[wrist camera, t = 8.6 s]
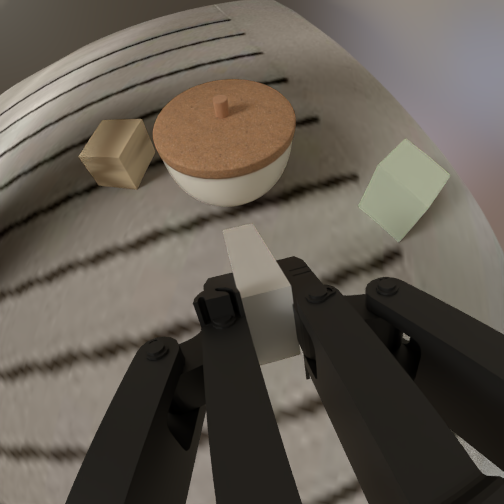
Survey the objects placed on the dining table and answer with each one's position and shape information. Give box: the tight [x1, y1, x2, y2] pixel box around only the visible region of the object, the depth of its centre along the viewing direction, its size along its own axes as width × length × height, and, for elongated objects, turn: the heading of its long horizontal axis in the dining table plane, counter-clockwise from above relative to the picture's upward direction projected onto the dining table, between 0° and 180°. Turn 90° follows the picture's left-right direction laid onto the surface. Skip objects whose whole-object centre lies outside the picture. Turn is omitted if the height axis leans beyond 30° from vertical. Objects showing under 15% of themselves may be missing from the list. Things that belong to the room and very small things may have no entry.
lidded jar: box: [153, 79, 296, 207], centre depth 23 cm, size 11×11×9 cm
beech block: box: [79, 119, 155, 189], centre depth 26 cm, size 5×5×5 cm
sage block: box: [358, 138, 450, 242], centre depth 23 cm, size 5×5×6 cm
